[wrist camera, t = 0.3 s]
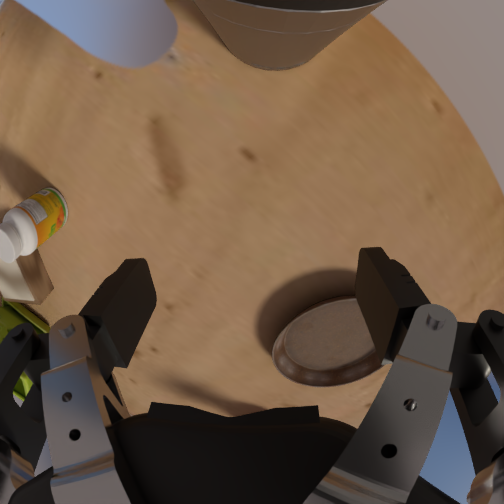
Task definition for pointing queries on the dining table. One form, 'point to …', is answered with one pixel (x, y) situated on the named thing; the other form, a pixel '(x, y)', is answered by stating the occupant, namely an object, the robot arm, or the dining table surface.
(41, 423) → the robot arm
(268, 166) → the dining table surface
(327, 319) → the plant saucer
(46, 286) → the pedestal
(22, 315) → the flower pot
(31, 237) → the supplement bottle
